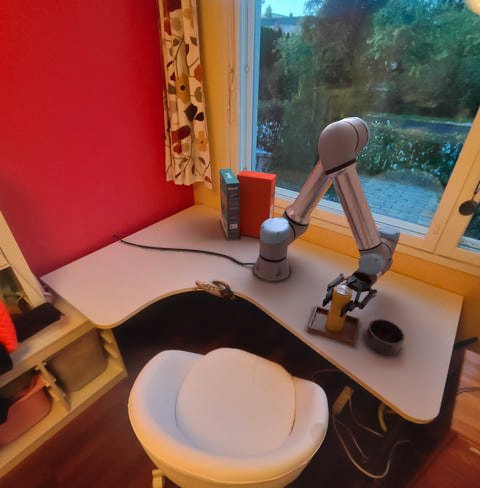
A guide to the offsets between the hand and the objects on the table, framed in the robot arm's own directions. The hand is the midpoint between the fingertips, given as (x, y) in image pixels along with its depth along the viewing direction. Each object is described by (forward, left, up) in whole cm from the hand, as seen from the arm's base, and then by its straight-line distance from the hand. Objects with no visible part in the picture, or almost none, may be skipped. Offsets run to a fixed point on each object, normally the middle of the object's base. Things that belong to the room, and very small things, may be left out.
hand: (332, 308), depth 89 cm
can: (+2, +5, -12) cm, 13 cm away
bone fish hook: (-44, +4, -13) cm, 46 cm away
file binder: (-49, +54, -13) cm, 74 cm away
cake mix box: (-63, +52, -13) cm, 82 cm away
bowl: (+17, +5, -12) cm, 22 cm away
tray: (+2, +5, -12) cm, 13 cm away
